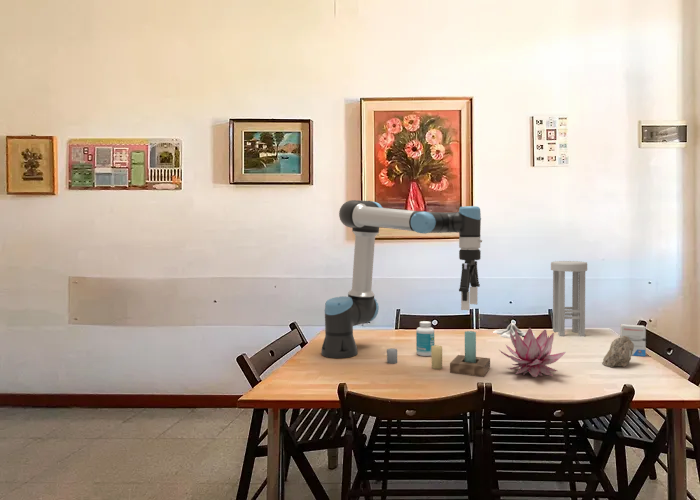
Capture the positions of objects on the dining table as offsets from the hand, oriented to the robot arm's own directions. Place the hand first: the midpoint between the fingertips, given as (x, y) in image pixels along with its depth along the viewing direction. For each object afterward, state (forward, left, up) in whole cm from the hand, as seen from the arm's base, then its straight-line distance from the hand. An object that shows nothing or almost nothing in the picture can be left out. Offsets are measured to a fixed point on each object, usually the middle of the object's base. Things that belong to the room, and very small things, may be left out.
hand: (469, 307), depth 172 cm
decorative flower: (+21, +5, -24) cm, 32 cm away
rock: (+49, +29, -24) cm, 62 cm away
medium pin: (-12, -2, -23) cm, 26 cm away
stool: (+30, +78, -24) cm, 87 cm away
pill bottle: (-21, +14, -24) cm, 35 cm away
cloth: (+6, +68, -24) cm, 72 cm away
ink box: (+55, +48, -24) cm, 76 cm away
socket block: (0, 0, -23) cm, 23 cm away
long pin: (0, 0, -23) cm, 23 cm away
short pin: (-30, -2, -23) cm, 38 cm away
